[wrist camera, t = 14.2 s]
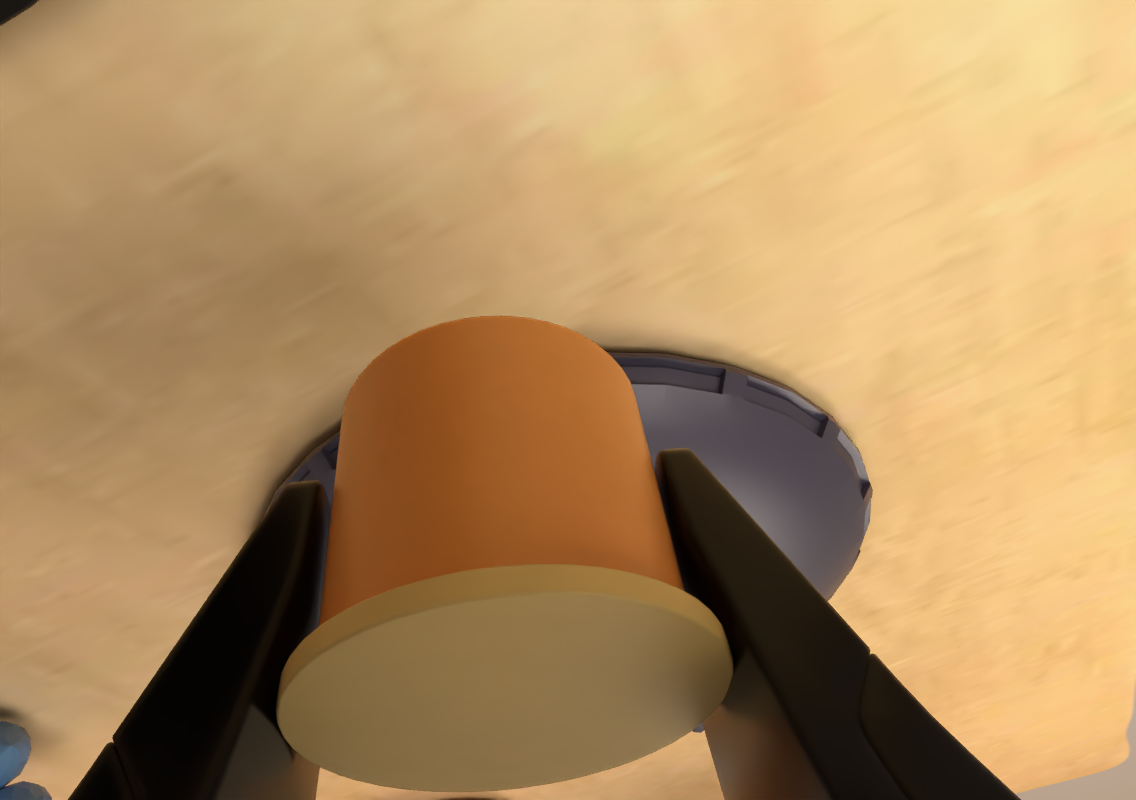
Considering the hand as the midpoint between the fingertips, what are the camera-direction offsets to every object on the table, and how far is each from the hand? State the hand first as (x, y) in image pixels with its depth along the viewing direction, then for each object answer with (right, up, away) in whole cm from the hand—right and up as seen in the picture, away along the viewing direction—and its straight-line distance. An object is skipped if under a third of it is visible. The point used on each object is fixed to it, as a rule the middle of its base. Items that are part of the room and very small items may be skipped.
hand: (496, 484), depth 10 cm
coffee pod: (0, +1, +1) cm, 1 cm away
